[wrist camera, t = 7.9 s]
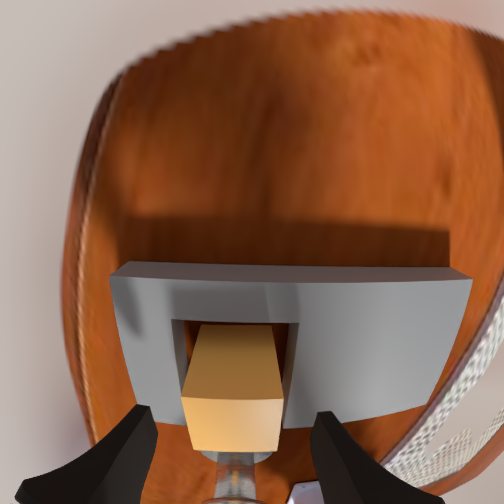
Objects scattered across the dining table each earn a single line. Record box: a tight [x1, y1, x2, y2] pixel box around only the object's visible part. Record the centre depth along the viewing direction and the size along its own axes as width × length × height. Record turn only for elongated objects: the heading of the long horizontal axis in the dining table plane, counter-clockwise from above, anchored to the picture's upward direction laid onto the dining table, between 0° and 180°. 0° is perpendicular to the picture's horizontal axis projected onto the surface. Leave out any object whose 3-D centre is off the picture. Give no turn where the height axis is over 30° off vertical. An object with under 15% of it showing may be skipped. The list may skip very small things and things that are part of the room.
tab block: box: [181, 324, 284, 452], centre depth 13 cm, size 4×4×6 cm
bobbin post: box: [200, 450, 273, 504], centre depth 14 cm, size 6×6×7 cm
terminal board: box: [109, 261, 473, 429], centre depth 14 cm, size 20×10×2 cm, turn 88°
